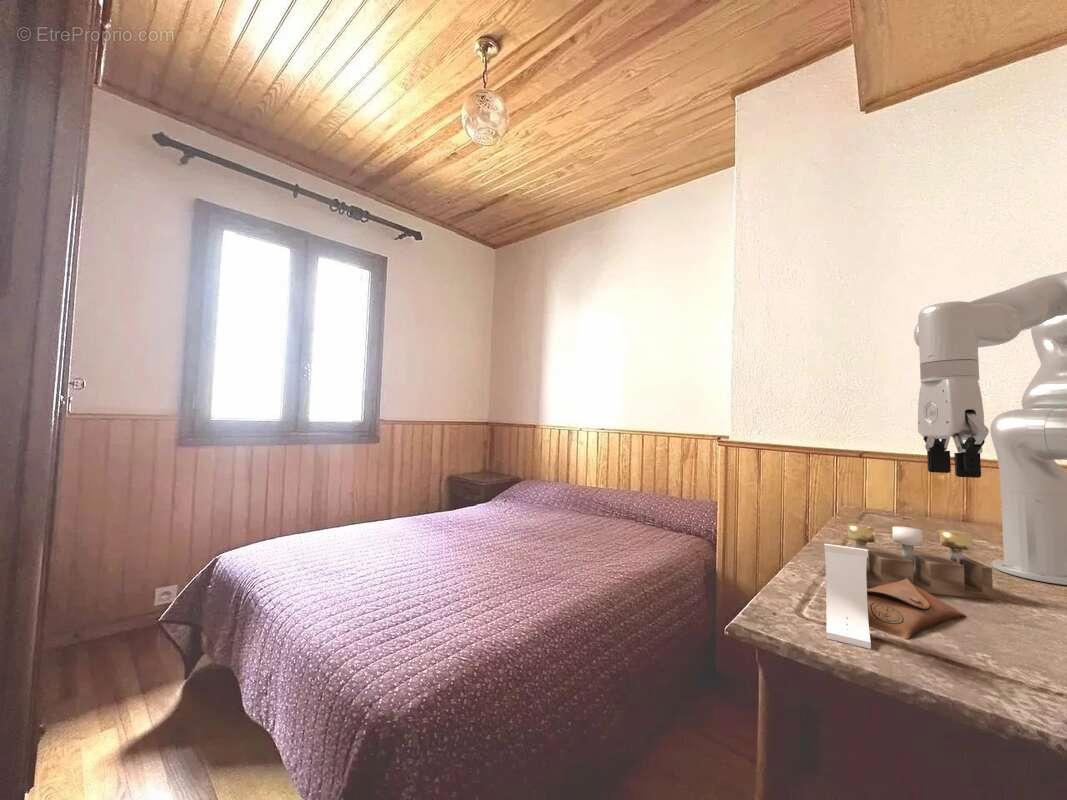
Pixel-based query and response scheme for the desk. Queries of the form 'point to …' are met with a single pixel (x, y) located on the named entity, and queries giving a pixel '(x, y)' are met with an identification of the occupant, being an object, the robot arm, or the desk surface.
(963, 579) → the tan mount
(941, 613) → the sunglasses case
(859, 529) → the brass knob
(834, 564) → the headphone stand
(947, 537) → the brass knob
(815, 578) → the desk surface
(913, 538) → the white knob
